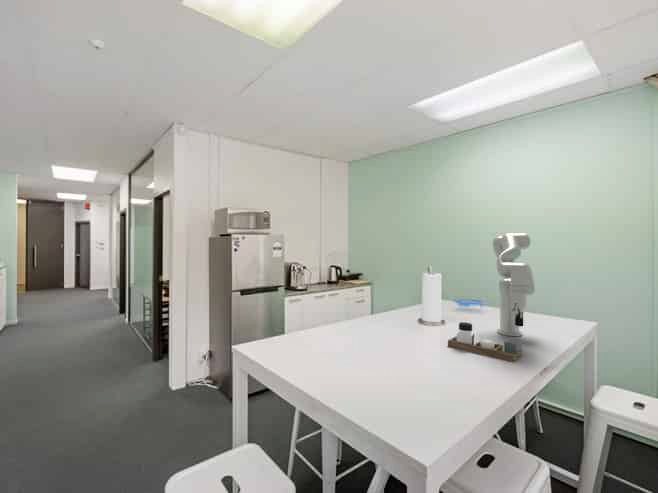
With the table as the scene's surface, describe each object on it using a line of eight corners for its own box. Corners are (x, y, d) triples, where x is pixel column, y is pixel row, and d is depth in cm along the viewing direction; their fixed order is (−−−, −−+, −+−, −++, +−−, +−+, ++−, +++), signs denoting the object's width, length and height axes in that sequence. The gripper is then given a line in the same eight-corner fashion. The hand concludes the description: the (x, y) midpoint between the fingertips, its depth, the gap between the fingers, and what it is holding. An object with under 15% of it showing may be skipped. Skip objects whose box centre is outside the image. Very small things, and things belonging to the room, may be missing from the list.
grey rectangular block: (510, 348, 155) (510, 337, 155) (521, 350, 152) (521, 340, 152) (504, 352, 149) (504, 341, 149) (516, 355, 145) (516, 344, 145)
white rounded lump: (483, 348, 154) (483, 338, 154) (496, 351, 150) (496, 341, 150) (478, 351, 150) (478, 341, 150) (491, 354, 146) (491, 344, 146)
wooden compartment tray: (457, 341, 166) (457, 335, 166) (521, 355, 145) (521, 349, 145) (447, 346, 158) (448, 340, 158) (514, 361, 137) (514, 355, 137)
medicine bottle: (472, 350, 152) (472, 325, 152) (456, 347, 156) (456, 323, 156) (473, 346, 158) (474, 322, 158) (458, 343, 162) (458, 320, 162)
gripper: (515, 287, 164) (515, 322, 164) (506, 289, 154) (506, 326, 153) (531, 288, 159) (531, 324, 159) (523, 290, 149) (523, 329, 148)
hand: (519, 325), depth 156 cm, fingers closed
